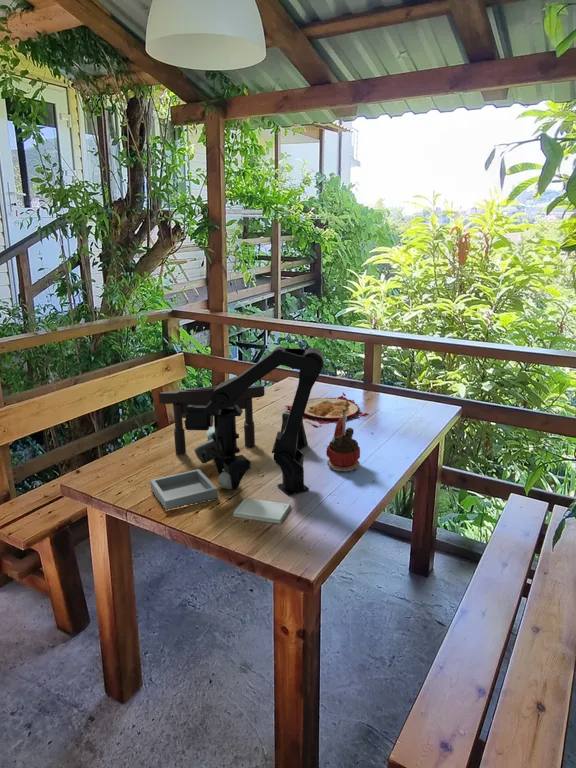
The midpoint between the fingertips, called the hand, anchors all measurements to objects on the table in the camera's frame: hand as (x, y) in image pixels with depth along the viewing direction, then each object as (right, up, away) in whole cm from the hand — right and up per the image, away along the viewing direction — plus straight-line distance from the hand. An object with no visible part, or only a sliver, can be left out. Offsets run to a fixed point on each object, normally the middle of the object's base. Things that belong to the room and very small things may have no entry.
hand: (227, 483), depth 151 cm
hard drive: (+10, -5, -13) cm, 17 cm away
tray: (-11, -2, -4) cm, 12 cm away
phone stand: (+18, +6, +26) cm, 33 cm away
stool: (-7, +6, +26) cm, 28 cm away
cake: (+33, +3, +12) cm, 35 cm away
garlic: (0, -1, 0) cm, 1 cm away
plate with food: (+33, +16, +61) cm, 71 cm away
